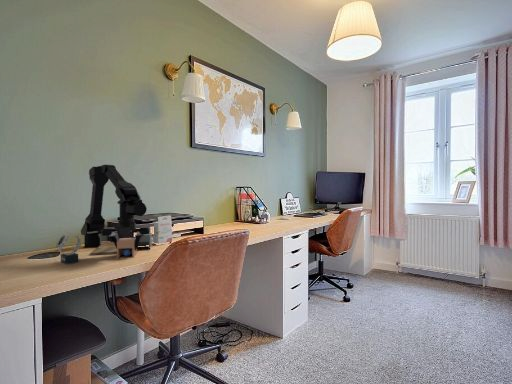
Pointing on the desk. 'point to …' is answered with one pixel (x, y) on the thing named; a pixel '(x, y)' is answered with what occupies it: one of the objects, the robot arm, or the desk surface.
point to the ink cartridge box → (162, 230)
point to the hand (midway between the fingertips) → (126, 250)
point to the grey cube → (145, 240)
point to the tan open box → (126, 246)
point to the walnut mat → (104, 251)
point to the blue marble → (126, 251)
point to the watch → (68, 257)
